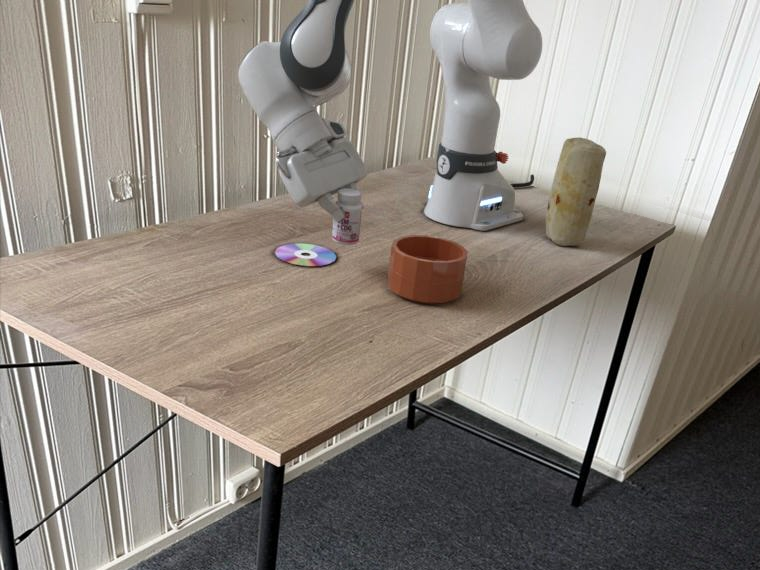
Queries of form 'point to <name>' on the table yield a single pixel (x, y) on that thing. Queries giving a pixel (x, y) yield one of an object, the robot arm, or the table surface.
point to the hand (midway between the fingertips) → (351, 215)
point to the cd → (316, 258)
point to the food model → (574, 191)
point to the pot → (426, 268)
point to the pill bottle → (348, 217)
